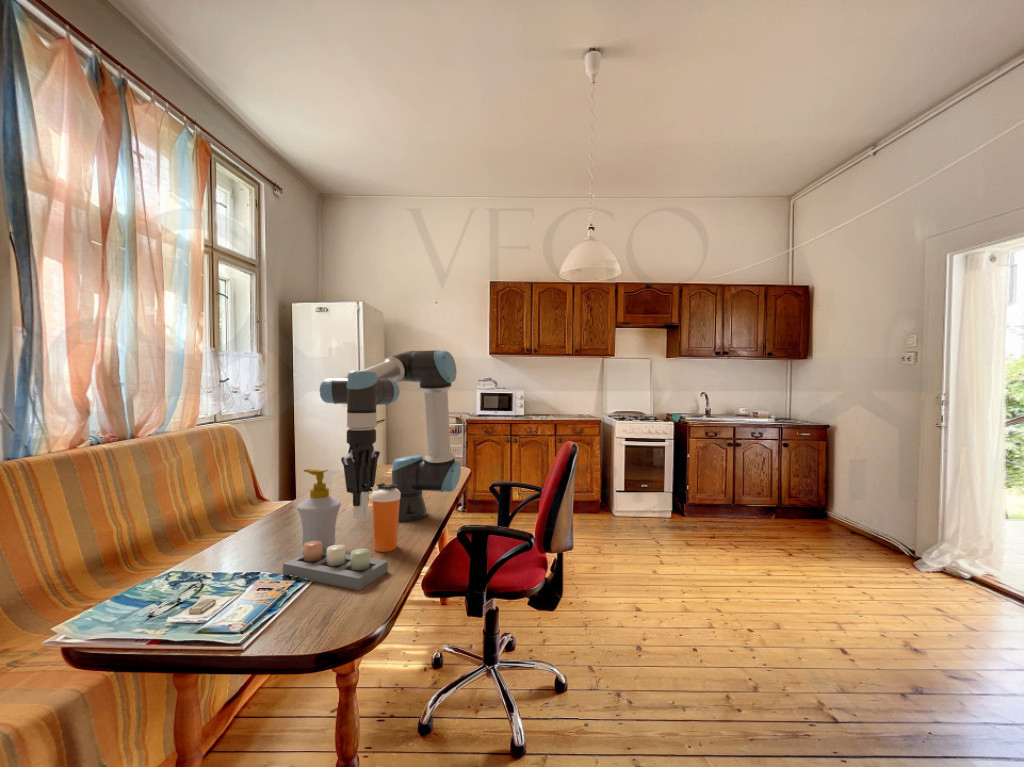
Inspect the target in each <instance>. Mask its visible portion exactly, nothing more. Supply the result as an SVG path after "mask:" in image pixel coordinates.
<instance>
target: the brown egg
mask: <svg viewBox="0 0 1024 767" xmlns="http://www.w3.org/2000/svg"><path fill="white" fill-rule="evenodd" d="M303 554H304V561H308V562H311V561H317V560H320V559H321V558H322V542H321V541H311V542H307V543H305V544H304V548H303Z"/></svg>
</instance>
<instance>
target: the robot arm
mask: <svg viewBox="0 0 1024 767" xmlns="http://www.w3.org/2000/svg"><path fill="white" fill-rule="evenodd" d="M456 378H457V365H456V361H455V358H454V356H453V355H452V353H451V352H449V351H447V350H438V349H436V350H434V349H433V350H409V351H404V352H401V353H397V354H394V355H392V356H388V357H386V358H384V359H383V360H382V361H381V362H380V363H378V364H375V365H372V366H370V367H367V368H364V369H362V370H350V371H349V372H348V374H347V375H345V376H343V377H337V378H336V377H330V378H325V379H323V380H322V382H321V383H320V385H319V396H320V398H321V400H322V401H323V402H324V403H326V404H334V405H337V404H338V405H339V404H340V405H341V404H343V405H346V406H347V407H346V415H347V416H346V427H347V430H346V443H347V444H348V445H349V447H348V453H347V455H346V456H342V457H341V458H340V461H341V464H342V465H343V472H344V480H345V489H346V492H347V493H350V494H351V495H352V505H353V518H355V519H364V518H367V517H368V516H369V508H368V506H369V496H370V494H369V492H373V487H374V486H375V485H376V474H377V467H378V460H379V457H380V454H381V452H380V450H375V447H374V444H375V443H376V442H377V429H376V427H377V406H381V405H386V406H387V405H389V404H394V403H395V402H396V401H397V400H398V398H399V396H400V387H399V385H398V383H401V382H411V383H412V382H413V383H419V388H420V389H421V391H422V392H424V408H425V409H424V410H425V426H426V441H427V442H426V443H427V444H426V445H427V446H426V447H427V454H426V455H425V456H424V457H423V455H421V454H420V455H419V454H416V455H407V456H402V457H398V458H395V459H393V461H392V466H391V467H392V468H391V484H395V485H397V487H396V489H398V490H399V491H400V493H401V494H400V503H399V521H398V522H412V521H411V520H413V521H418V520H421V519H420V518H422V519H423V517H424V518H425V517H427V515H428V514H427V513H428V512H427V510H428V509H427V507H426V503H425V499H424V495H423V491H425V492H426V491H427V492H439V493H440V492H441V493H450V492H454V491H455V490H456V488H457V486H458V484H459V482H460V477H461V473H462V472H461V471H462V467H461V463H460V461H457V460H456V458H455V457H456V456H455V454H454V453H453V452H451V437H450V415H449V411H450V410H449V396H448V394H449V392H448V391H449V389H451V388H452V383H454V382H455V381H456ZM417 519H418V520H417Z"/></svg>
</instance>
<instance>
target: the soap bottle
mask: <svg viewBox="0 0 1024 767" xmlns="http://www.w3.org/2000/svg"><path fill="white" fill-rule="evenodd" d="M328 471H329V469H325V470H324V469H312V468H311V469H310V468H309V469H308V468H307V469H303V473H304V472H305V473H309V474H310V475H313V476H315V479H316V480H317V482H315V483H314V484H313V488H311V489H310V495H309V496H310V497H309V498H308V499H306V500H305V501H303V502H301V503H299V504H297V508H296V509H297V511H298V513H299V516H300V522H301V527H302V548H303V549H304V544H305V543H307V542H311V541H321V542H322V550H327V548H328V547H329V546H332V545H336V544H335V543H336V524H337V518H338V515H339V511H340V508H341V506H342V505H341V504H342V503H341V500H338V499H336V498H333V497H332V496H331V495H329V493H330V489H329V487H327V483H325V482H323V480H324V478H325V477H324V476H325V475H324V473H326V472H328Z"/></svg>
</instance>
